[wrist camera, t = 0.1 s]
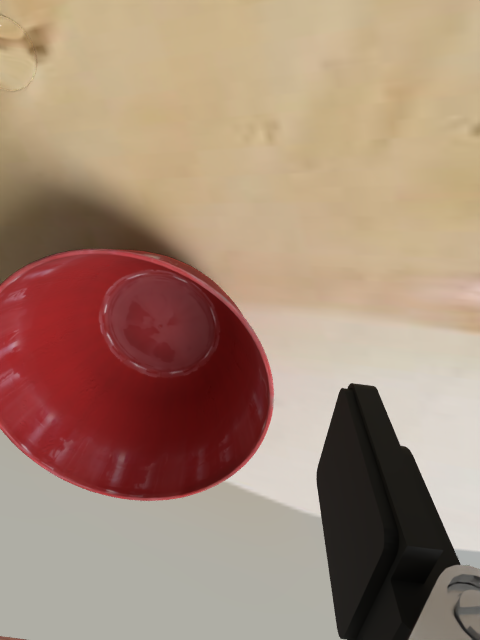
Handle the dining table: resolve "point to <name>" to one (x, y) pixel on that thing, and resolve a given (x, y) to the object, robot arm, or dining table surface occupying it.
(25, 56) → the silver metal tumbler
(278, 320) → the dining table surface
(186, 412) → the mixing bowl
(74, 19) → the dining table surface
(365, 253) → the dining table surface
